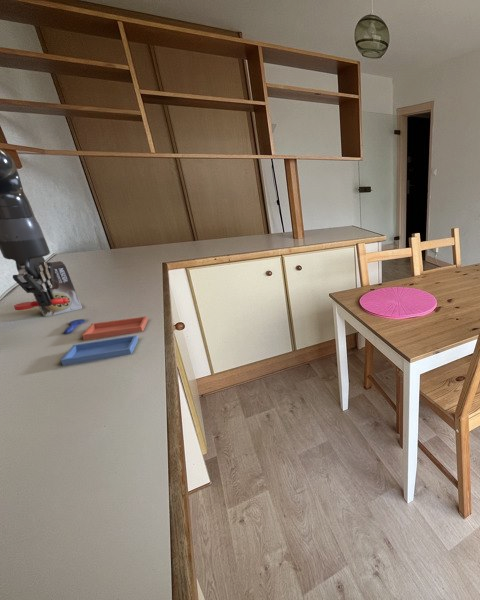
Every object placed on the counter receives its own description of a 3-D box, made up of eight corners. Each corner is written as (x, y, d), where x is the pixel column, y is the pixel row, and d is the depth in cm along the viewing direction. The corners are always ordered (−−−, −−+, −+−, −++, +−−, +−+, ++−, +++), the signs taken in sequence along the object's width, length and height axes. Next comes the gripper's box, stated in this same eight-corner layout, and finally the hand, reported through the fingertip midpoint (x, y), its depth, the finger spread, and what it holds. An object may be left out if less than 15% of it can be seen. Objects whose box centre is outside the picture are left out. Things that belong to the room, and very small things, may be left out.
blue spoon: (75, 334, 91) (73, 329, 91) (59, 336, 90) (57, 332, 89) (87, 321, 99) (85, 317, 99) (72, 322, 98) (71, 318, 97)
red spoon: (71, 300, 83) (69, 295, 83) (66, 305, 81) (64, 300, 80) (19, 306, 79) (17, 301, 78) (12, 311, 76) (9, 305, 76)
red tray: (84, 341, 87) (81, 335, 87) (93, 329, 94) (91, 323, 93) (142, 332, 93) (141, 326, 92) (148, 321, 100) (146, 316, 99)
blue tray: (63, 367, 76) (60, 360, 75) (76, 351, 83) (73, 344, 82) (132, 355, 82) (129, 348, 81) (138, 341, 88) (136, 335, 88)
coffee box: (78, 304, 110) (61, 260, 104) (83, 309, 107) (66, 263, 101) (40, 312, 103) (20, 265, 97) (44, 318, 100) (24, 269, 94)
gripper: (28, 241, 70) (56, 311, 76) (54, 231, 81) (77, 293, 87) (-22, 243, 67) (12, 317, 73) (13, 232, 78) (40, 297, 84)
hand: (48, 304), depth 80 cm, fingers closed on red spoon, 1 cm apart
